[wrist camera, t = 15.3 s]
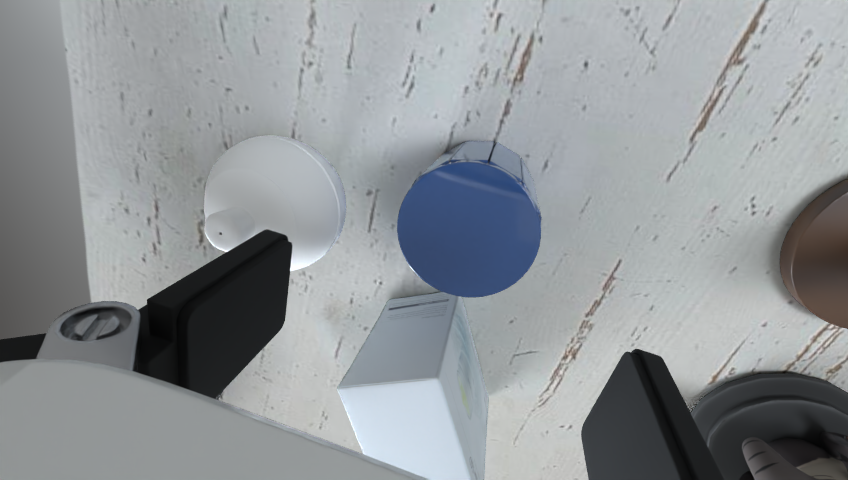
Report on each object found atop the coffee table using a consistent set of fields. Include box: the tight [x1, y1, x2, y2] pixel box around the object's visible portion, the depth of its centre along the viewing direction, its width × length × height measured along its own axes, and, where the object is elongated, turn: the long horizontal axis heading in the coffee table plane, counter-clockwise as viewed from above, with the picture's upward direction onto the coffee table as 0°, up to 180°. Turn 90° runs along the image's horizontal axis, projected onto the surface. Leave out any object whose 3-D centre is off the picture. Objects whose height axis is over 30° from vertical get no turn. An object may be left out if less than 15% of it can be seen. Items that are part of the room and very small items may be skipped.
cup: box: [397, 141, 541, 297], centre depth 23 cm, size 7×7×8 cm
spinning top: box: [204, 135, 346, 271], centre depth 23 cm, size 8×8×12 cm
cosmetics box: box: [337, 292, 489, 480], centre depth 27 cm, size 10×6×10 cm, turn 16°
